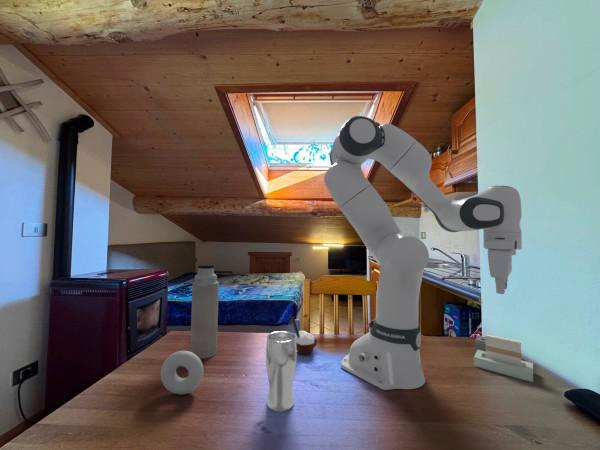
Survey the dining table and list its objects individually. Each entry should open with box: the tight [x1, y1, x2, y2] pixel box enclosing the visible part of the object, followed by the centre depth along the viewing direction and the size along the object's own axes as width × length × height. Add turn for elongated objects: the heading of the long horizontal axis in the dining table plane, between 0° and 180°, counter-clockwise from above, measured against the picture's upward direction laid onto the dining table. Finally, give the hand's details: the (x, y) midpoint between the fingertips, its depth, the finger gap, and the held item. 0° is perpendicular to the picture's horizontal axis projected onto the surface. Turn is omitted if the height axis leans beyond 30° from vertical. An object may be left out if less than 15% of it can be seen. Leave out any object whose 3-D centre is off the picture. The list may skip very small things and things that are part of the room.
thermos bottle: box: [189, 263, 220, 360], centre depth 87 cm, size 8×8×28 cm
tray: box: [473, 350, 534, 383], centre depth 77 cm, size 13×7×4 cm, turn 50°
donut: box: [160, 350, 205, 395], centre depth 65 cm, size 10×4×10 cm, turn 90°
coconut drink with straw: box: [290, 315, 318, 356], centre depth 88 cm, size 10×6×12 cm, turn 98°
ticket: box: [485, 333, 522, 367], centre depth 77 cm, size 8×2×9 cm, turn 51°
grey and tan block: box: [474, 335, 486, 355], centre depth 85 cm, size 11×6×5 cm, turn 50°
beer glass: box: [265, 330, 298, 413], centre depth 62 cm, size 7×7×15 cm
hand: (501, 291), depth 78 cm, fingers open, 8 cm apart
